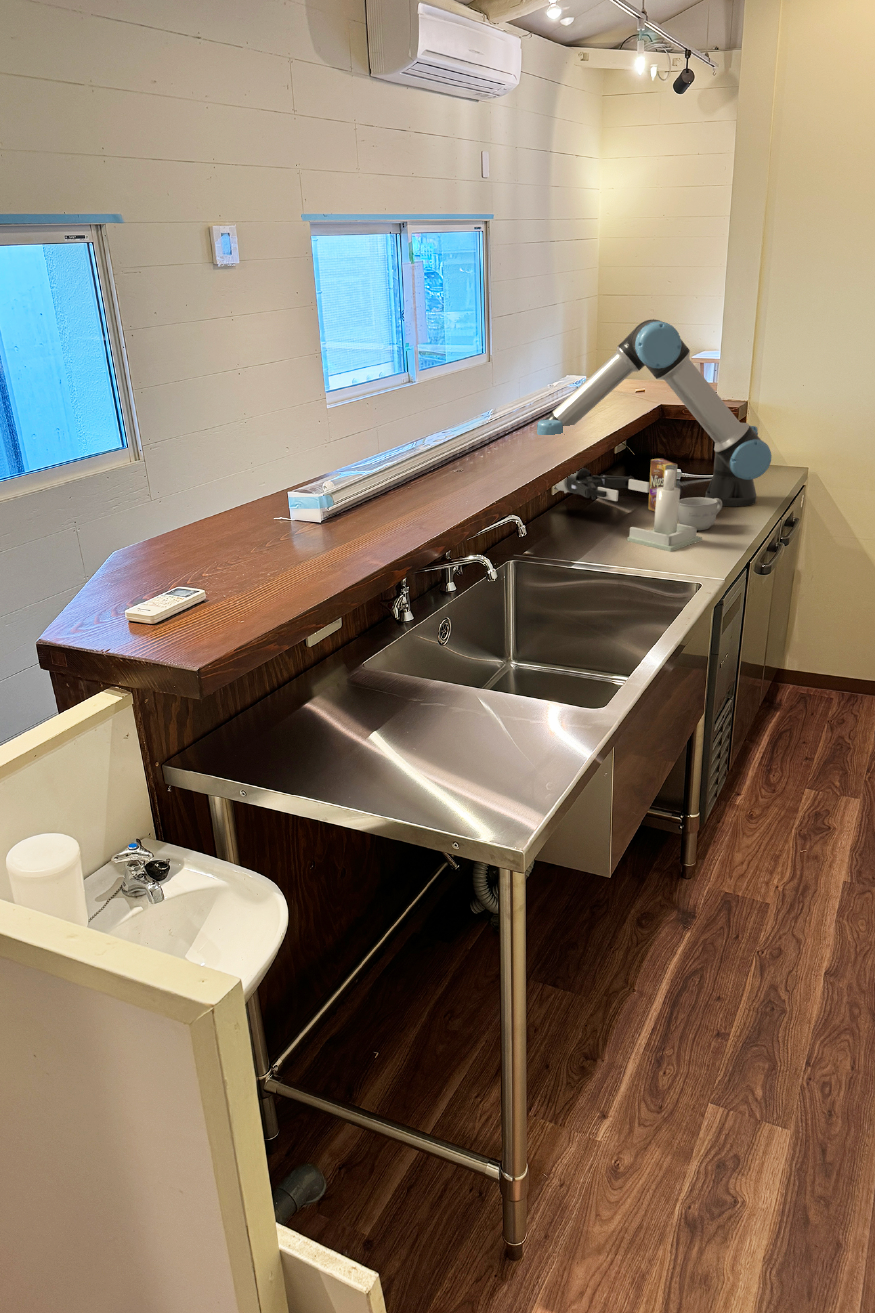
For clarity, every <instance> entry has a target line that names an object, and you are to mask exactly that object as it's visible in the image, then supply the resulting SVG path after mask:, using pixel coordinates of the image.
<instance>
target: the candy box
mask: <svg viewBox="0 0 875 1313" xmlns="http://www.w3.org/2000/svg"><path fill="white" fill-rule="evenodd" d="M668 469H671V470H676V474H675V485H674V487H675V488H677V478H678V477H677V476H678V464H677V463H674V462H672V461H670V460H667V459H665V458H654V459H653V458H652V459H650V470H649V471H650V472H649V492H648V493H649V494H648V507H647V508H648V510H649V511H652V512H653V513H655V508H656V495H657V488H659V487H663V486H664V474H665V470H668Z"/></svg>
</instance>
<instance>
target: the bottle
mask: <svg viewBox="0 0 875 1313" xmlns="http://www.w3.org/2000/svg"><path fill="white" fill-rule="evenodd" d="M675 474H676V470H671V469H668V470H665V474H664V486H663V487H659V488H657V495H656V508H655V512H654V520H653V521H654V522H653V529H654V532H657V533H661V534H666V535H670V534H673V533H676V531H677V523H678V510H679V500H680V497H681V496H680V495H681V488H678V487H676V488H675V487H674V485H675Z"/></svg>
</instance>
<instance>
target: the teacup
mask: <svg viewBox="0 0 875 1313" xmlns="http://www.w3.org/2000/svg"><path fill="white" fill-rule="evenodd" d="M717 503H718V505H717ZM722 507H723V506H722V501H721V500H720V499H718V498H715V499H712V498H705V497H701V496H698V497H684V498H681V499H679V510H678V520H677V522H678V524H682V525H687V526H691V527H696V528H697V531H705V530H708V529H710V528H711V526H713V525H714V524H715V522H716V520H717V515H718V514H719V512H720V511H721V510H722Z"/></svg>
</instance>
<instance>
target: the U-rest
mask: <svg viewBox="0 0 875 1313" xmlns="http://www.w3.org/2000/svg"><path fill="white" fill-rule="evenodd" d="M697 531H698V530H697V528H696V527H691V526H687V525H682V524H680V523H679V522H677V531H676V533H673V534H670V535H666V534H661V533H657V532H654V528H653V529H643V528H639V527H635V526H631V527H629V536H627V540H626V541H627V542H630V543H634V544H639V545H643V546H647V547H651V548H653V549H654V548H655V549H659V550H662V551H665V552H666V551H667V552H673V551H676V550H678V549H682V548H685V547H687V545H688V546H690V544H691V545H693V544H692V543H694V544H696V543H695V542H697V543H699V542H698V541H700V542H702V541H703V537H702V536H699V535H697V533H698V532H697ZM701 540H702V541H701ZM681 547H682V548H681Z"/></svg>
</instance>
